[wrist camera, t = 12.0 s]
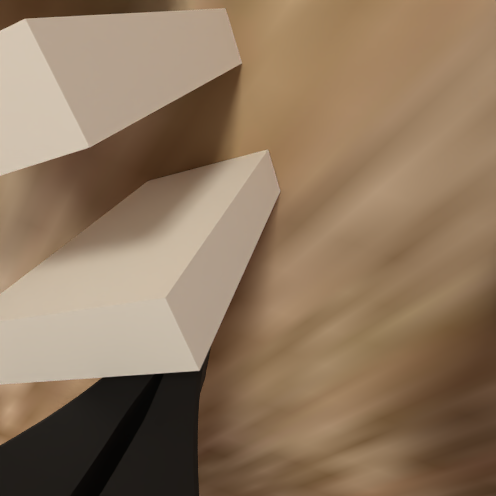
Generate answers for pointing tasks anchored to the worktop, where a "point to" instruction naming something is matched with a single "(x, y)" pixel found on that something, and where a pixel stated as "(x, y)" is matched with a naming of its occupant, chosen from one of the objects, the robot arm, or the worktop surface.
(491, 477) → the worktop surface
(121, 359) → the domino
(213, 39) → the domino
